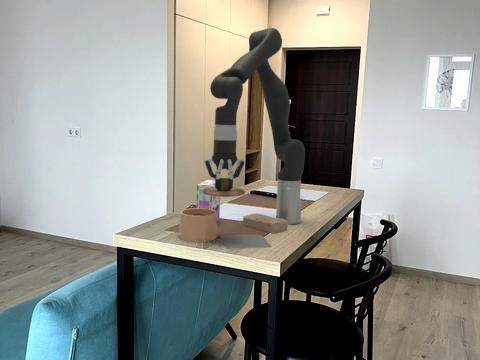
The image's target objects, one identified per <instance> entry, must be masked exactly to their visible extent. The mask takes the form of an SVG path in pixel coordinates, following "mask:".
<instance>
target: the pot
mask: <svg viewBox="0 0 480 360" xmlns="http://www.w3.org/2000/svg"><path fill="white" fill-rule="evenodd" d="M195 214H202V215H205V216H192V215H195ZM217 236H218V222H217V212H216V211H215V210H212V209H205V208H197V207H196V208H195V207H191V208H184V209H182V210H180V211H179V238H180V239H181V240H183V241H187V242H194V243H195V242H196V243H201V242H202V243H205V242H209V241H213V240H215V239H217V238H218V237H217Z"/></svg>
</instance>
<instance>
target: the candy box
mask: <svg viewBox="0 0 480 360" xmlns="http://www.w3.org/2000/svg"><path fill="white" fill-rule="evenodd" d="M196 187H197V188H196V208H205V209H212V210H215V211H216V212H217V223H218V222H219V221H220V220H221V219H220V215H221V214H220V213H221V211H220V207H221V206H220V205H221V203H220V202H221V200H220V199H221V196H211V195H207V194H204V193H203V189H205V188H210V187H215V179H206V180H205V181H203V182H200V183H199V184H197V185H196Z"/></svg>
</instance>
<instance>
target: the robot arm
mask: <svg viewBox="0 0 480 360" xmlns="http://www.w3.org/2000/svg"><path fill="white" fill-rule="evenodd" d="M248 45H249V49H250V51H248V52H246V53H245V54H243V55H242V56H241V57H239V58H238V59H237V60H236V61H235V62H233V64H232V65H231V67H229V68H228V69H226V70H224V71H223V72H221V73H220V74H218V75H216V76H215V77H214V78H213V79H212V82H211V83H210V93H211V96H213V97H214V98H215V99H219V100H220V99H221V100H226V102H225V104H224V105H221V106H218V107H216V108H215V112H214V116H215V118H214V129H213V153H212V155H211V158H209V159H205V160H204V161H203V162H204V165H205V167H206V170H207V172H208V175H209V177H210V178H212V179H214V180H215V188H216V189H217V190H218V191H220V179H219V178H221V173H222V170H224V169H225V170H226V171H227V176H228V178H229V190H231V189H232V188H234V179H236V178H239V176H240V174H241V172H242V170H243V167H244V165H245V161H244V160H242V159H239V158H238V156H237V141H238V140H237V139H238V134H237V132H238V130H237V115H238V114H237V113H238V109H239V106H240V102H241V98H242V96H243V92H244V91H243V90H244V84H245V83H246V82H248V81H249V79H250V78H251V77H252V76H253V74H254V73H255V72H256V71H257V74H258V79H259V82H260V86H261V90H262V94H263V99H264V103H265V107H266V108H265V109H266V111H267V115H268V119H269V124H270V127H271V133H272V134H271V135H272V141H273V148H274V153H275V156H276V157H277V159H278V160H279V161H281V162H284V164H283V167H282V169H281V170H280V171H278V172H277V182H276V183H277V186H276V189H277V190H276V211H275V212H276V215H275V218H281V219H285V220H287V221H288V225H297V224H301V223H302V222H301V221H302V203H303V202H302V201H303V200H302V199H301V190H302V189H301V186H302V175H303V173H304V169H305V158H306V150H305V149H306V148H305V145H304V143H303V142H302V141H300V139H292V138H291V133H290V130H289V123H288V122H289V116H290V112H291V111H290V110H291V101H290V97H289V92H288V89H287V86H286V85H285V83H284V82H283V81H282V79H281V78H280V77H279V76H278V75H277V74H276V72H275V71H274V70H273V69H272V66H271V64H270V63H269V59H270V58H271V57H273V56H274V55H276V54H277V53H278V52H279V51H280V50H281V48H282V45H283V39H282V35H281V33H280V31H279V30H278V29H277V28H275V27H269V28H265V29H261V30H257V31H253V32H252V33H250V35H249V38H248ZM213 164H214V165H215V167H216V168H215V173H214V171H213V168H212V165H213ZM235 164H236V166H237V167H236V169H235V171H234V170H233V167H234V165H235Z"/></svg>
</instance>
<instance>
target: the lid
mask: <svg viewBox="0 0 480 360" xmlns="http://www.w3.org/2000/svg"><path fill="white" fill-rule="evenodd" d="M219 179H220V191H218V190H217V189H216V188H215V187H210V188H205V189H203V193H204V194H207V195H211V196H220V198H221V197H223V198H225V197H227V198H229V197H231V198H232V197H238V196H240V197H241V196H244V195H245V194H246V191H245V189H243V188H238V187H233V188H232V189H231V190H229V177H228V178H227V177H220V178H219Z"/></svg>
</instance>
